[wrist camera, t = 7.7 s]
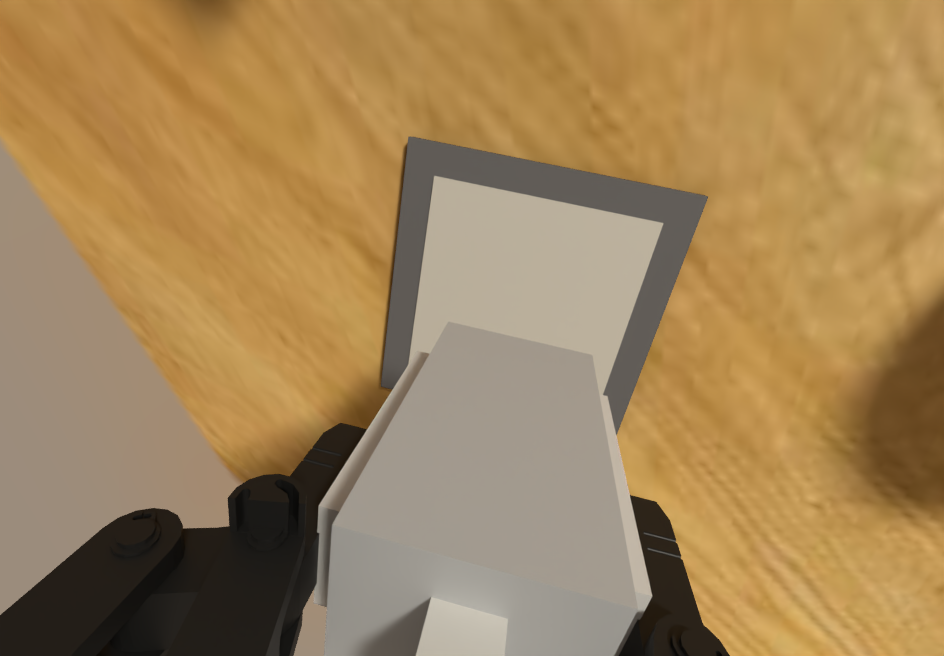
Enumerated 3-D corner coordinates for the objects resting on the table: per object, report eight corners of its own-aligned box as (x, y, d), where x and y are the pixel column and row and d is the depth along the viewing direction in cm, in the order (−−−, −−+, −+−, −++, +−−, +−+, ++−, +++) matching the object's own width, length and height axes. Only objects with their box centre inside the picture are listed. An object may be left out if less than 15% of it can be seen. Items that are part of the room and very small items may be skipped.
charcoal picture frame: (412, 136, 22) (407, 136, 21) (704, 195, 20) (708, 197, 20) (384, 381, 27) (380, 387, 27) (611, 437, 26) (613, 444, 26)
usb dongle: (448, 321, 14) (258, 653, 5) (592, 354, 13) (668, 778, 5) (428, 436, 16) (266, 828, 7) (554, 468, 15) (557, 927, 6)
